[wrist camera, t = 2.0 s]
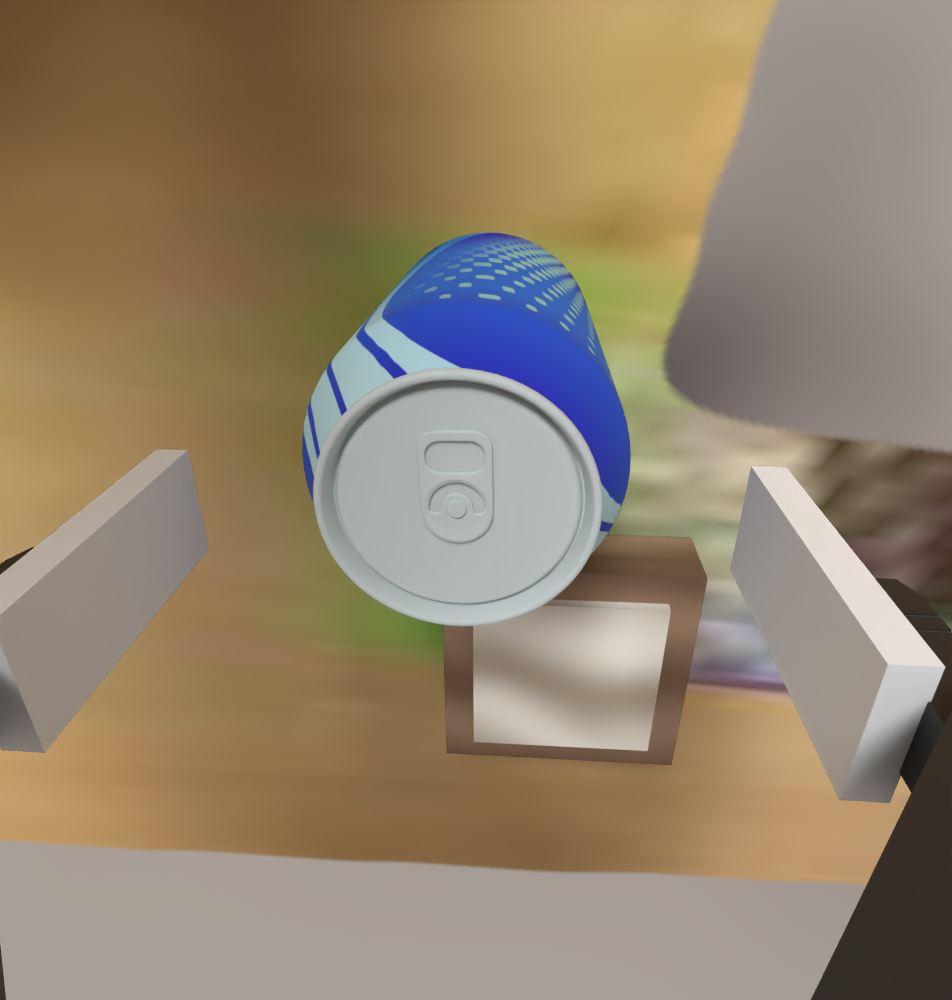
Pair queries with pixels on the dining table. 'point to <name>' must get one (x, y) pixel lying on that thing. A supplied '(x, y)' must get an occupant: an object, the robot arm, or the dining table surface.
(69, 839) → the dining table surface
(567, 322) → the beer can
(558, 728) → the base slab
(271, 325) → the dining table surface
